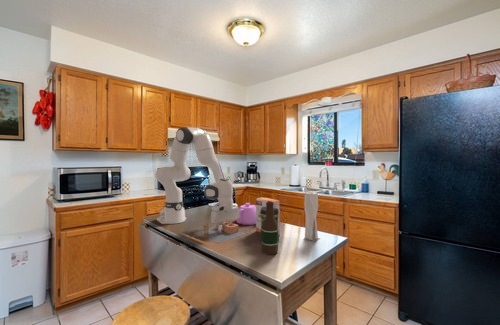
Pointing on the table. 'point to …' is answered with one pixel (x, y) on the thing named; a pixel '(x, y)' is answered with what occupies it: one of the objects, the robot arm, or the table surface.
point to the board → (219, 238)
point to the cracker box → (262, 203)
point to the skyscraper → (311, 215)
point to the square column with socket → (229, 228)
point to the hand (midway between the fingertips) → (225, 228)
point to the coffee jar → (263, 217)
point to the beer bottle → (270, 231)
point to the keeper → (206, 230)
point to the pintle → (219, 229)
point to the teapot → (247, 214)
